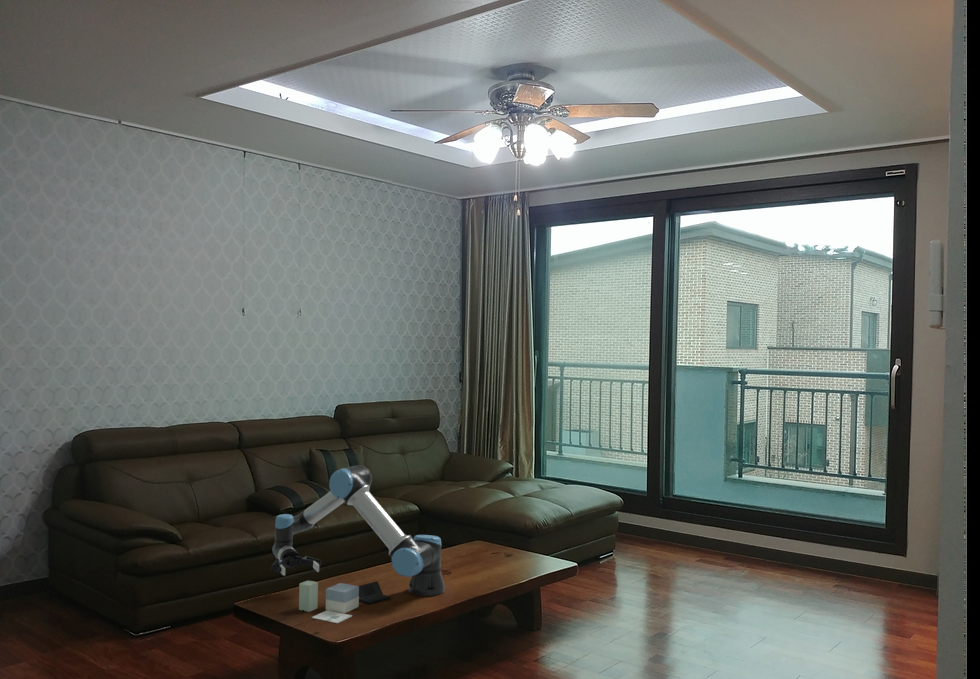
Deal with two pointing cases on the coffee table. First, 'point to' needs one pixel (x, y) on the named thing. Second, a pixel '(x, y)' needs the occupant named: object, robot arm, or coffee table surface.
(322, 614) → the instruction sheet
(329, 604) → the tower base
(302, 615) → the coffee table surface
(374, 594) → the handheld gaming console
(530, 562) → the coffee table surface
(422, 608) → the coffee table surface
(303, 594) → the top brick
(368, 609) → the coffee table surface
